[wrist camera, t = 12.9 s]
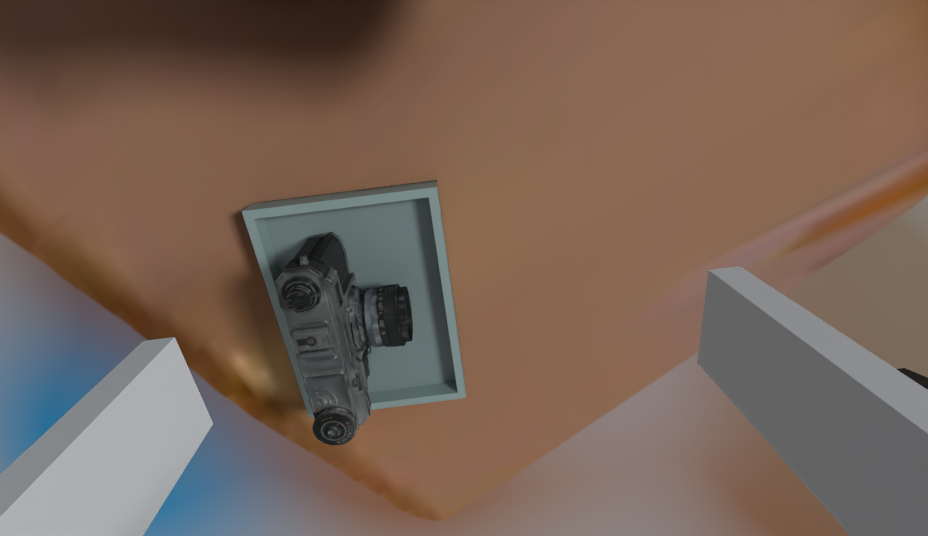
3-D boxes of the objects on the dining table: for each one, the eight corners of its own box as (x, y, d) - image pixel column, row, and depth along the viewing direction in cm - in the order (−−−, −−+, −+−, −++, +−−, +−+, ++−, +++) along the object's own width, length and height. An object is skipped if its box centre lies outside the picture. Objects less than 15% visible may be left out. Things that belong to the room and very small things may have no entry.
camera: (427, 373, 48) (424, 445, 39) (341, 384, 48) (319, 459, 39) (397, 214, 41) (385, 257, 32) (296, 228, 41) (256, 274, 32)
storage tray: (252, 203, 40) (241, 211, 38) (436, 180, 41) (436, 186, 38) (314, 401, 50) (309, 417, 47) (464, 382, 50) (466, 397, 47)
